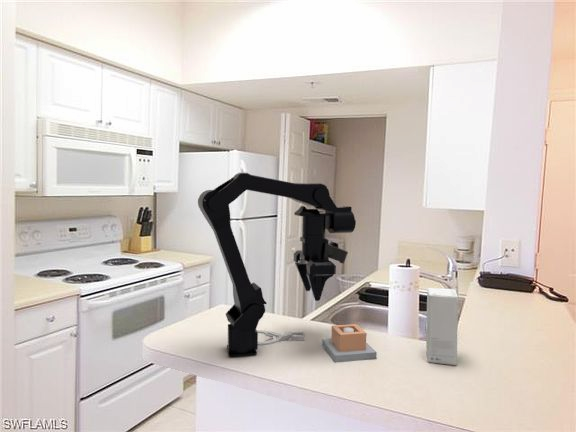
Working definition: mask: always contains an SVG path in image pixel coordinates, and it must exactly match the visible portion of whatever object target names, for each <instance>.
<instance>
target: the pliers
mask: <svg viewBox="0 0 576 432" xmlns="http://www.w3.org/2000/svg"><path fill="white" fill-rule="evenodd" d="M256 330H257V332H258V334H264V335H265V336H266V337H269V338H266V339H264V340H263V341H258V346H267V345H272V344H276V343H280V342H284V341H290V342H293V341H294V342H304V341H305V332H304V331H301V330H300V331H299V330H298V331H285V332H283V334H282V333H279V332H277V331H271V330H266V329H265V330H263V329H256ZM274 337H276V338H274Z"/></svg>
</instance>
